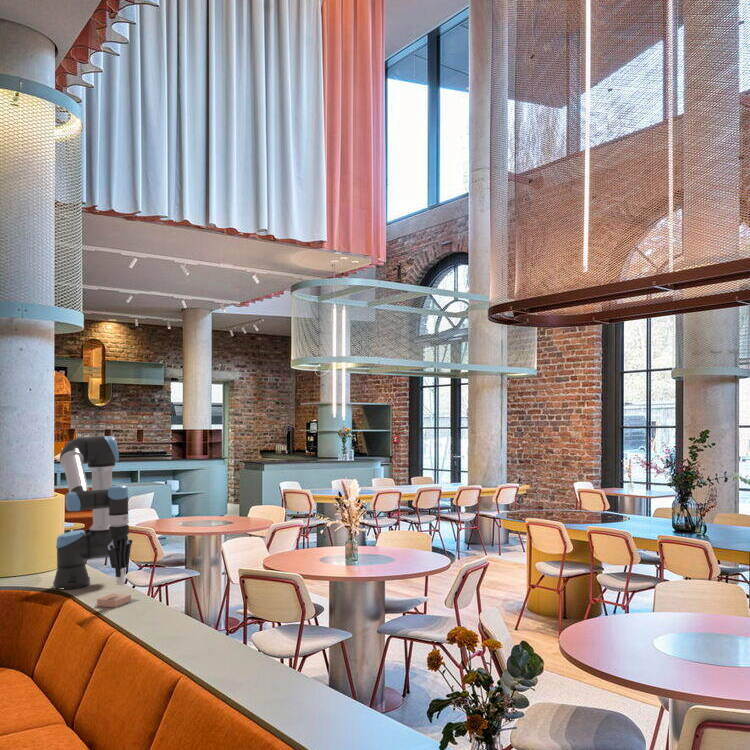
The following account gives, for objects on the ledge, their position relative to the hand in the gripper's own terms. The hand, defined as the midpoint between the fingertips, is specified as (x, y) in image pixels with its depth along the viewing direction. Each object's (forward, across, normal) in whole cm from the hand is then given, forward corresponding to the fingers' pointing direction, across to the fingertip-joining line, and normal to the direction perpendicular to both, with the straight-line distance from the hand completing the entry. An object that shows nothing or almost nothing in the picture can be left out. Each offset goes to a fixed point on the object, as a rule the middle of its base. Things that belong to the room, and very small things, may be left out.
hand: (120, 584), depth 314 cm
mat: (+7, -2, 0) cm, 7 cm away
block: (+5, +1, 0) cm, 5 cm away
